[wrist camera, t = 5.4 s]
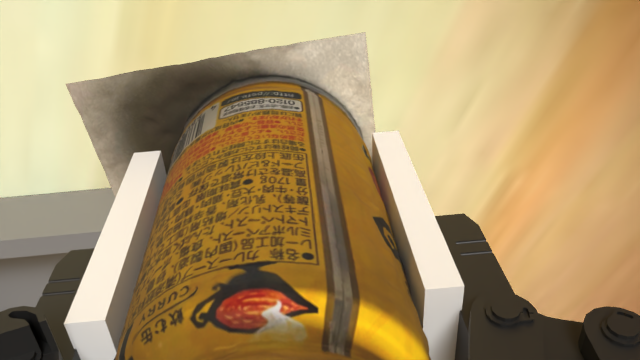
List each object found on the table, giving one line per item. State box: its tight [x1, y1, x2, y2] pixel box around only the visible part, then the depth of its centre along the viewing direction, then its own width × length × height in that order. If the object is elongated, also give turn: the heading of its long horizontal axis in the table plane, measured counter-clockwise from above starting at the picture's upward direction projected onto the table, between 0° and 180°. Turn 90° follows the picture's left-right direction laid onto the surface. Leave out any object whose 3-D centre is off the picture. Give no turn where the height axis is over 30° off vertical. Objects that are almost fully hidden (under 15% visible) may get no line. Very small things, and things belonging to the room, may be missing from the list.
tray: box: [0, 188, 115, 312], centre depth 37 cm, size 26×17×4 cm, turn 93°
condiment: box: [66, 32, 431, 360], centre depth 13 cm, size 7×8×12 cm
